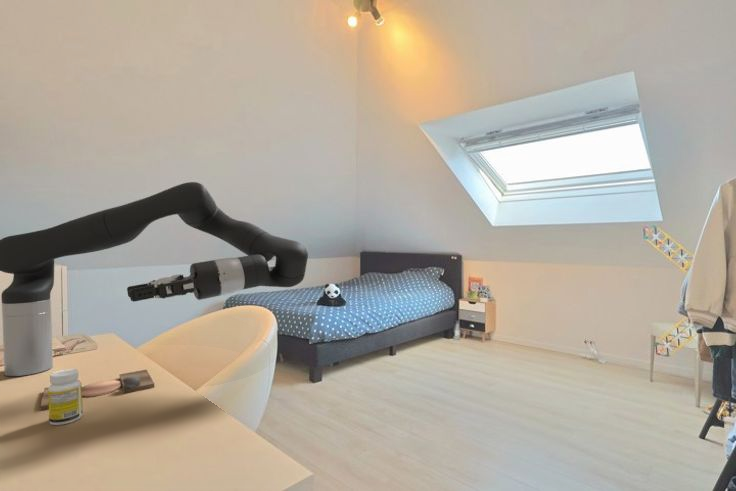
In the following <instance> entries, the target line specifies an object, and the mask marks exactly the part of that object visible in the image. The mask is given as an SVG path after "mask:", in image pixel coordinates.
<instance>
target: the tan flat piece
mask: <svg viewBox="0 0 736 491" xmlns="http://www.w3.org/2000/svg"><path fill="white" fill-rule="evenodd" d="M118 377H119V380H103V381H98V382H97V381H96V382H94V383H93V382H92V383H88V384H86V385H84V386H83V385H82V386H81V389H82V398H83V397H84V398H86V397H87V398H89V397H98V396H103V395H107V394H111V393H113V392H115V391H119V390H120V389H123V393H124V394H128V393H132V392H137V391H143V390H148V389H153V388H155V382H154V381H153V378H152V377H151V374H150V373H149V371H148V370H147V369H143V370H136V371H132V372H125V373H121V374H119V376H118ZM48 388H49V386H48V387H44V389H43V392H42V393H43V394H42V398H41V403H40V405H39V406H40V409H39V410H40V411H45V410H49V401H48Z"/></svg>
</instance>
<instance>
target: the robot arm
mask: <svg viewBox="0 0 736 491" xmlns="http://www.w3.org/2000/svg"><path fill="white" fill-rule="evenodd" d="M174 215H178V217H179V218H180V219H181V220H182V221H183V222H184V224H186V225H187V226H189V227H190V228H194V229H196V230H199V231H201V232H203V233H205V234H206V233H207V234H208V235H211V236H213V237H216V238H217V239H220V240H222V241H224V242H225V243H227V244H228V245H231V246H232V247H234V248H235V249H237V250H239V251H240V252H242V254H245V255H244V256H243V255H242V256H238V257H225V258H217V259H214V260H206V261H199V262H194V263H191V265H190V266H189V267H190V268H189V276H184V274H173V275H171V276H166V277H161V278H160V277H159V278H158V279H157V280H156V279H153V280H151V281H149V282H146V283H142V284H136V285H130V286H127V288H126V292H127V295H128V297H129V298H130V302H131V301H132V302H140V301H143V300H149V299H154V298H155V299H166V298H173V297H177V296H178V297H179V296H186V295H187V294H191V293H193V295H194V297H195V298H196V300H199V301H200V300H206V299H211V298H216V297H219V296H223V295H224V296H225V295H229V294H233V293H236V292H240V291H242V290H247V289H252V288H258V287H269V288H270V287H273V288H274V287H275V288H276V287H277V288H292V287H295V286H297V285H299V284H300V283H301V282H303V280H304V279H305V275H306V269H307V264H308V258H309V253H308V251H307V248H306V247H305V246H304V244H302V243H300V242H299V241H297V240H292V239H288V238H283V237H280V236H276V235H272V234H271V233H269V232H267V231H265V230H264V229H262V228H260V227H259V226H257V225H256V224H253V223H251V222H248V221H243V220H237V219H235V218H232V217H230V215H227V214H226V213H225V212H224V211H223V210H222V209H221V208H219V207H218V205H217V204H216V202H215V199H214V198H213V197H212V195H211V194H210V192H209V191H208V189H207V188H206V187H205V186H204V184H202V183H200V182H197V181H196V182H195V181H189V182H183V183H180V184H178V185H175V186H173V187H170V188H167V189H164V190H162V191H160V192H158V193H155V194H152V195H149V196H148V197H144V198H141V199H138V200H135V201H131V202H128V203H125V204H123V205H118V206H114V207H111V208H107V209H102V210H100V211H97V212H93V213H90V214H87V215H83V216H80V217H77V218H75V219H71V220H69V221H66V222H64V223H60V224H58V225H55V226H52V227H49V228H48V227H47V228H45V229H41V230H36V231H31V232H26V233H21V234H14V235H13V234H12V235H9V236H8V235H7V236H5V237H2V238H1V239H0V272H3V273H4V274H5V273H6V274H11V275H13V278H12V279H13V280H12V281H11V283H10V285H9V286H7V287H6V288H5V289H4V290H2V292H1V313H2V314H1V316H2V319H1V320H2V342H3V346H2V347H3V368H4V376H6V377H19V376H29V375H34V374H38V373H41V372H45V371H48V370H50V369H52V368H53V367H54V366H53V365H54V358H53V355H54V354H53V328H52V307H51V306H52V303H51V302H52V301H51V292H52V290H53V287H54V285H55V259H59V258H63V257H64V258H65V257H68V256H76V255H82V254H83V255H84V254H88V253H89V254H90V253H94V252H99V251H104V250H107V249H112V248H115V247H119V246H122V245H125V244H128V243H131V242H132V241H134V240H135V239H136V238H137V237H138V236H140V234H142V233H143V231H144V230H145V229H146V228H147V227H148V226H150V224H152V223H153V222H155V221H157V220H160V219H163V218H165V217H166V218H167V217H170V216H174ZM274 257H275V262H274V263H275V264H274V266H269V264H268V262H270V261H271V260H272V259H273V258H274Z"/></svg>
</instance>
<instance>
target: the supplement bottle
mask: <svg viewBox="0 0 736 491" xmlns="http://www.w3.org/2000/svg"><path fill="white" fill-rule="evenodd" d="M49 382H50V385H49V386H48V387H49V388H48V401H49V409H48V418H49V419H48V421H49V424H50V425H51V426H52V425H53V426H61V425H66V424H71V423H73V422H76V421H78V420H79V419H81V418H82V416H83V413H84V412H83V397H82V389H81V387H82V382H81V380H80V379H79V370H78V369H76V368H67V369H61V370H57V371H54V372H51V374H49Z"/></svg>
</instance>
